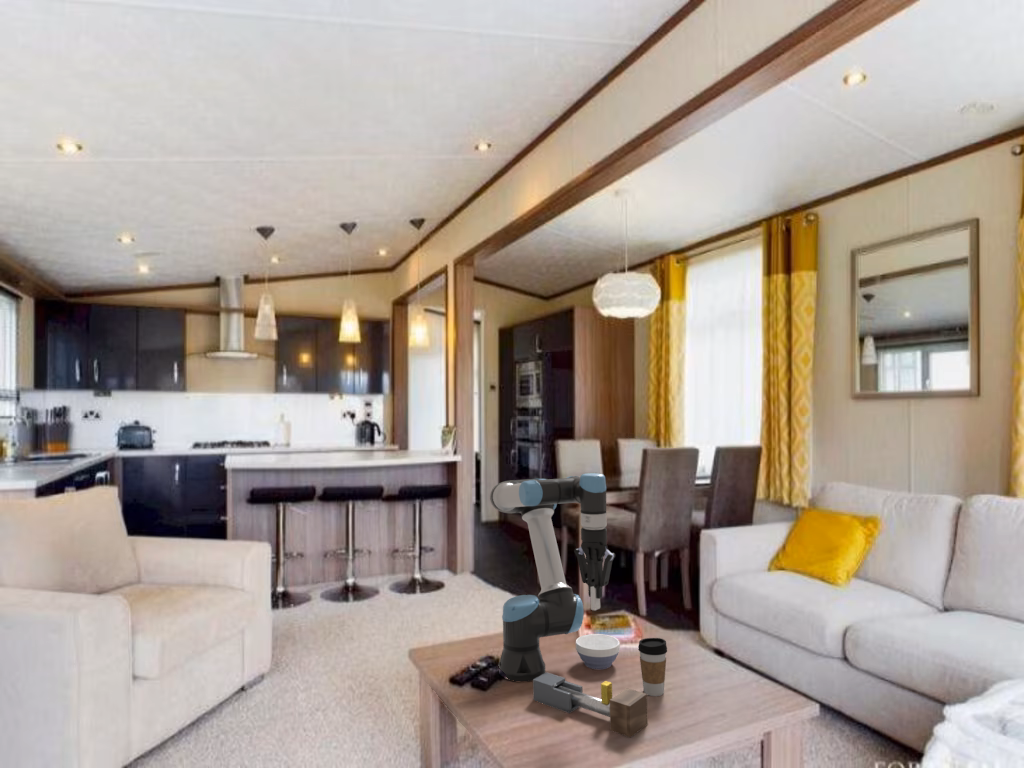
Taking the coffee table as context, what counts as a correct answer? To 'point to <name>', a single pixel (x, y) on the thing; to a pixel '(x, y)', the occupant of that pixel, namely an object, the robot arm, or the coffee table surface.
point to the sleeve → (554, 692)
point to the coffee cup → (653, 665)
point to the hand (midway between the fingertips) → (595, 608)
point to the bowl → (597, 650)
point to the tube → (592, 699)
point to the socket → (628, 712)
